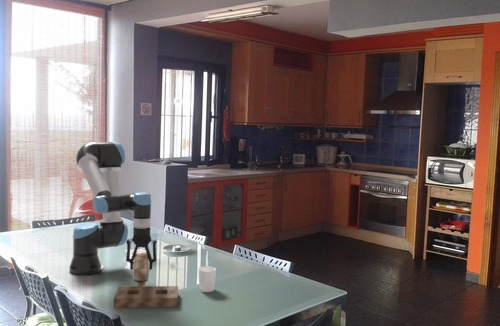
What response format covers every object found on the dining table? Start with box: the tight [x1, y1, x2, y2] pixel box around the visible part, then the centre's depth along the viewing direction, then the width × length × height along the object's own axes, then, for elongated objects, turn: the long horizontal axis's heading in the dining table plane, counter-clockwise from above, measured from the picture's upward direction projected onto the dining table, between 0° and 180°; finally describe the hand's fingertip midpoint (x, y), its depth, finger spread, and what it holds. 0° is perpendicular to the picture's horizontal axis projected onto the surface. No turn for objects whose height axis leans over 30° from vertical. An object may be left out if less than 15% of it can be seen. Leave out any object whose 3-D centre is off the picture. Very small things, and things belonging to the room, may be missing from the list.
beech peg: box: [133, 252, 149, 286], centre depth 227 cm, size 6×6×16 cm
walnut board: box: [113, 285, 179, 309], centre depth 213 cm, size 26×14×4 cm, turn 97°
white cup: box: [198, 265, 217, 293], centre depth 229 cm, size 8×8×10 cm
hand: (141, 276), depth 227 cm, fingers closed on beech peg, 6 cm apart
